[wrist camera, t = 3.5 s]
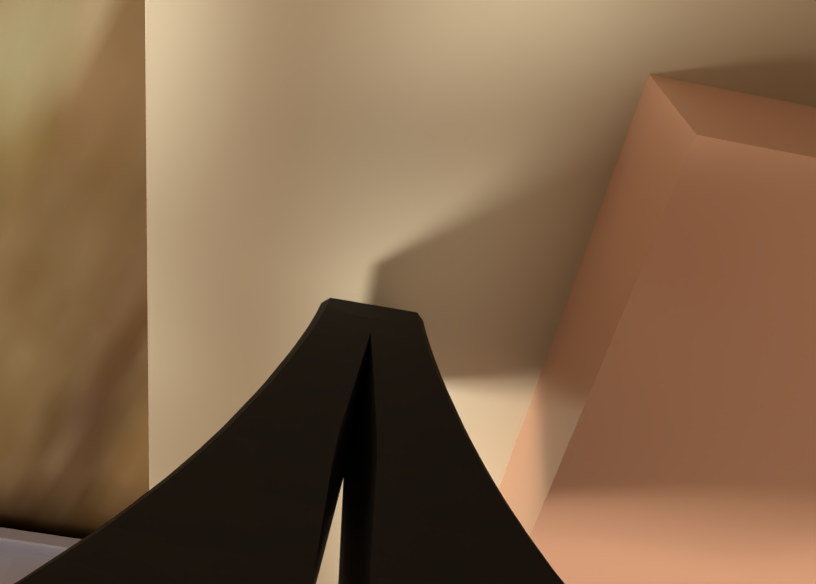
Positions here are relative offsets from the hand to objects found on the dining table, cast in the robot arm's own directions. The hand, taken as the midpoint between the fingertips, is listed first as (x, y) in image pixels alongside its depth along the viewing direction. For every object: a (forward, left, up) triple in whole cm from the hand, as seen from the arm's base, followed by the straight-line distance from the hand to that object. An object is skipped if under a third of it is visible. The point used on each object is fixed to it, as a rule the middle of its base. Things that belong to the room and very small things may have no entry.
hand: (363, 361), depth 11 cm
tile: (+6, 0, -1) cm, 6 cm away
